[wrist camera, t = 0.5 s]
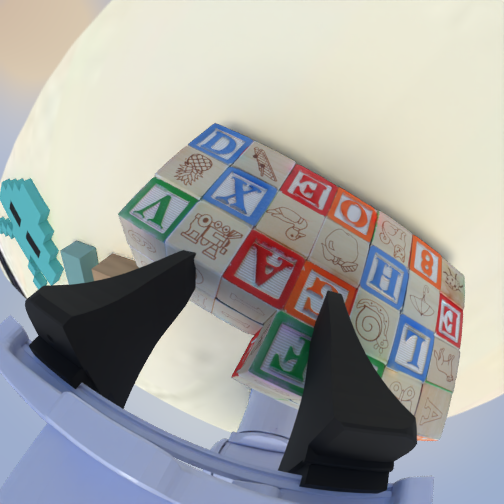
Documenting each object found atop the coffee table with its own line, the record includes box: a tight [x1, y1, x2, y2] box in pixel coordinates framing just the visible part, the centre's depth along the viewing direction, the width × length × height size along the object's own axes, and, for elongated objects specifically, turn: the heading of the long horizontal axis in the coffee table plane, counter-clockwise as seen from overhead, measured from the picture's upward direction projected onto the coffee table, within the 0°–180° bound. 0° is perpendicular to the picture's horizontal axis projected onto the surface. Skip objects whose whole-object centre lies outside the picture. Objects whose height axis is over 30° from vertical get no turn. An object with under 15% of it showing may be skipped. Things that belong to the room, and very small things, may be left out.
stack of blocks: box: [118, 123, 465, 441], centre depth 16 cm, size 21×6×12 cm, turn 65°
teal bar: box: [61, 241, 98, 285], centre depth 34 cm, size 22×4×3 cm, turn 173°
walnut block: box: [92, 254, 139, 281], centre depth 29 cm, size 8×6×4 cm
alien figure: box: [0, 178, 64, 290], centre depth 34 cm, size 20×2×20 cm
